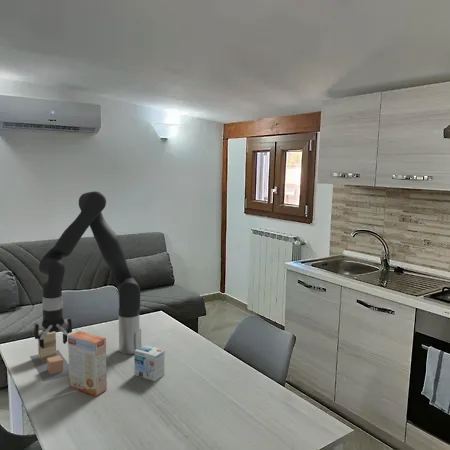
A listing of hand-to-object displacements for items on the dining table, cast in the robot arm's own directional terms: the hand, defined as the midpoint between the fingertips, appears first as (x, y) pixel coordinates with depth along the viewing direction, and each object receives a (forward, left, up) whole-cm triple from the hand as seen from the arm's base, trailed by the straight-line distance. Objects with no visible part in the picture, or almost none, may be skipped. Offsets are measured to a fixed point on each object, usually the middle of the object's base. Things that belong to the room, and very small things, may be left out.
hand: (53, 345), depth 175 cm
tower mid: (+9, -9, -5) cm, 14 cm away
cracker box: (-20, +10, -11) cm, 25 cm away
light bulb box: (-39, -5, -12) cm, 41 cm away
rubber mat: (+4, -4, -11) cm, 13 cm away
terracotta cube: (0, 0, -11) cm, 11 cm away
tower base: (+9, -9, -11) cm, 17 cm away
